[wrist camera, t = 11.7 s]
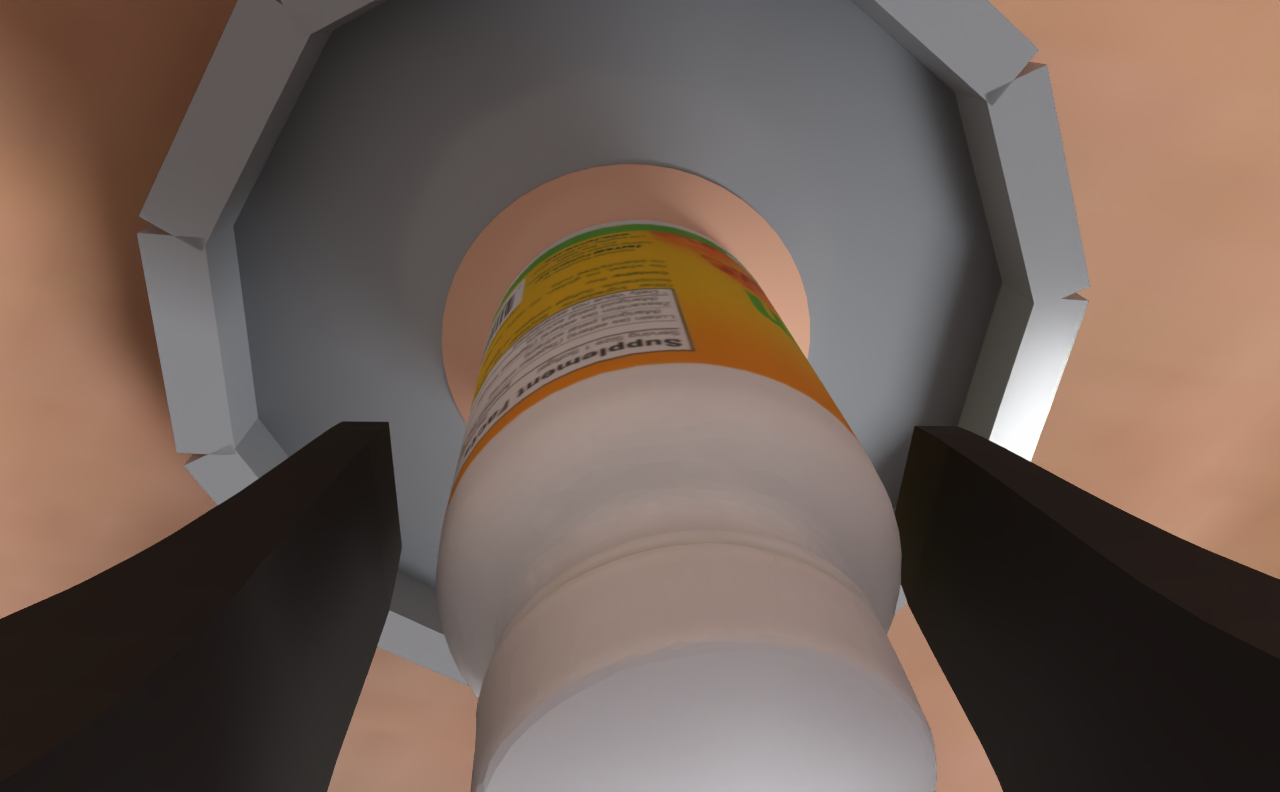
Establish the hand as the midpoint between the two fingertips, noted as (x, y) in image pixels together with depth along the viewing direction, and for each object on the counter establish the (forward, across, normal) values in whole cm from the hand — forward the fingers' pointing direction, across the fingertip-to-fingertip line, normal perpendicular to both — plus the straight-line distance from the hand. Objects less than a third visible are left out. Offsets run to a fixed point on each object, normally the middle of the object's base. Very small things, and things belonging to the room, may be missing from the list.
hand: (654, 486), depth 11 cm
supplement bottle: (+5, 0, 0) cm, 5 cm away
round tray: (+6, 0, 0) cm, 6 cm away
